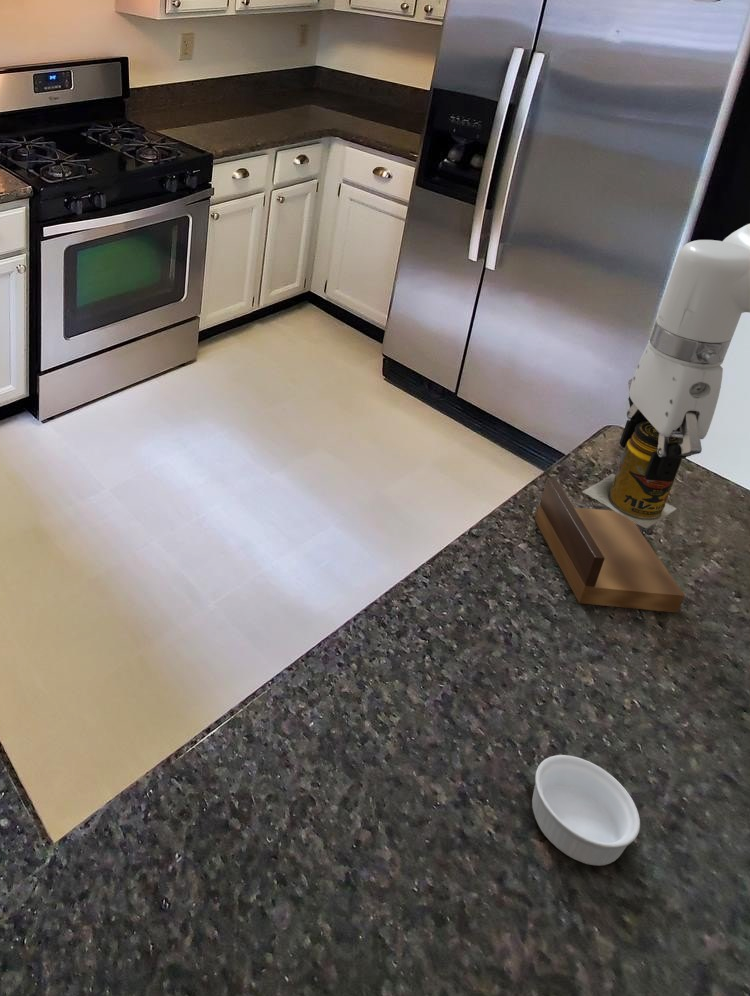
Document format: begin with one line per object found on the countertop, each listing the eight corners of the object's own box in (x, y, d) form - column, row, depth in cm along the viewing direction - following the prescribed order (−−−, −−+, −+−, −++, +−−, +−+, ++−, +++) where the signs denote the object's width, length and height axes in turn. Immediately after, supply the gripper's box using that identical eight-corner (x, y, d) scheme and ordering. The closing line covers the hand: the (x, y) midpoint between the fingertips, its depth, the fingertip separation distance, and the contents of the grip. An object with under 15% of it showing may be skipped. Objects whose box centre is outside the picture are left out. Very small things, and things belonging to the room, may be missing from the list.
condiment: (646, 529, 102) (674, 453, 97) (581, 492, 109) (604, 419, 104) (676, 510, 105) (705, 435, 100) (611, 475, 112) (635, 403, 107)
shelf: (620, 527, 117) (636, 484, 114) (678, 612, 103) (697, 566, 100) (534, 520, 119) (547, 477, 115) (579, 603, 105) (595, 557, 101)
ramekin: (616, 797, 82) (628, 770, 80) (638, 888, 74) (651, 860, 72) (520, 769, 84) (530, 742, 83) (532, 853, 77) (542, 826, 75)
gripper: (767, 381, 88) (714, 509, 95) (684, 311, 103) (643, 426, 111) (693, 377, 89) (646, 504, 96) (621, 308, 104) (586, 422, 112)
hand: (645, 461), depth 103 cm, fingers closed on condiment, 6 cm apart
